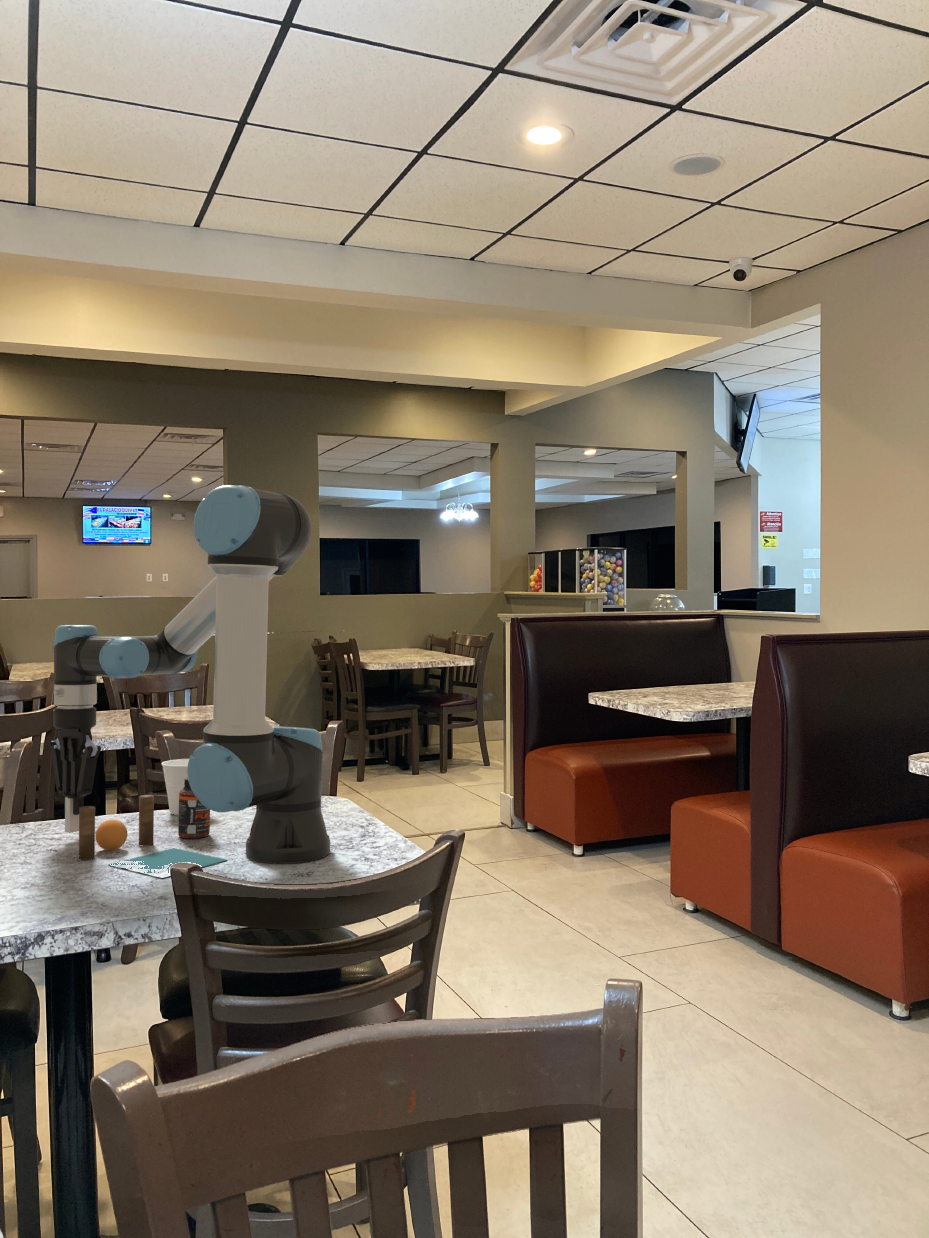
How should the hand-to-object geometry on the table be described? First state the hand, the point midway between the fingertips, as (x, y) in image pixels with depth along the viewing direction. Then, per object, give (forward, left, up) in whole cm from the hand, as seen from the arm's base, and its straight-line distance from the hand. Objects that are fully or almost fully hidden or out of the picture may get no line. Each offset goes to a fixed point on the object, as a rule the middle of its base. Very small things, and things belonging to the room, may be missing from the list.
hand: (73, 830), depth 177 cm
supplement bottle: (-15, -16, -2) cm, 22 cm away
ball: (-11, 0, +1) cm, 11 cm away
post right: (-13, -6, -2) cm, 15 cm away
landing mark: (-27, 0, -2) cm, 27 cm away
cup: (+3, -29, -2) cm, 29 cm away
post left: (-13, +6, -2) cm, 15 cm away
